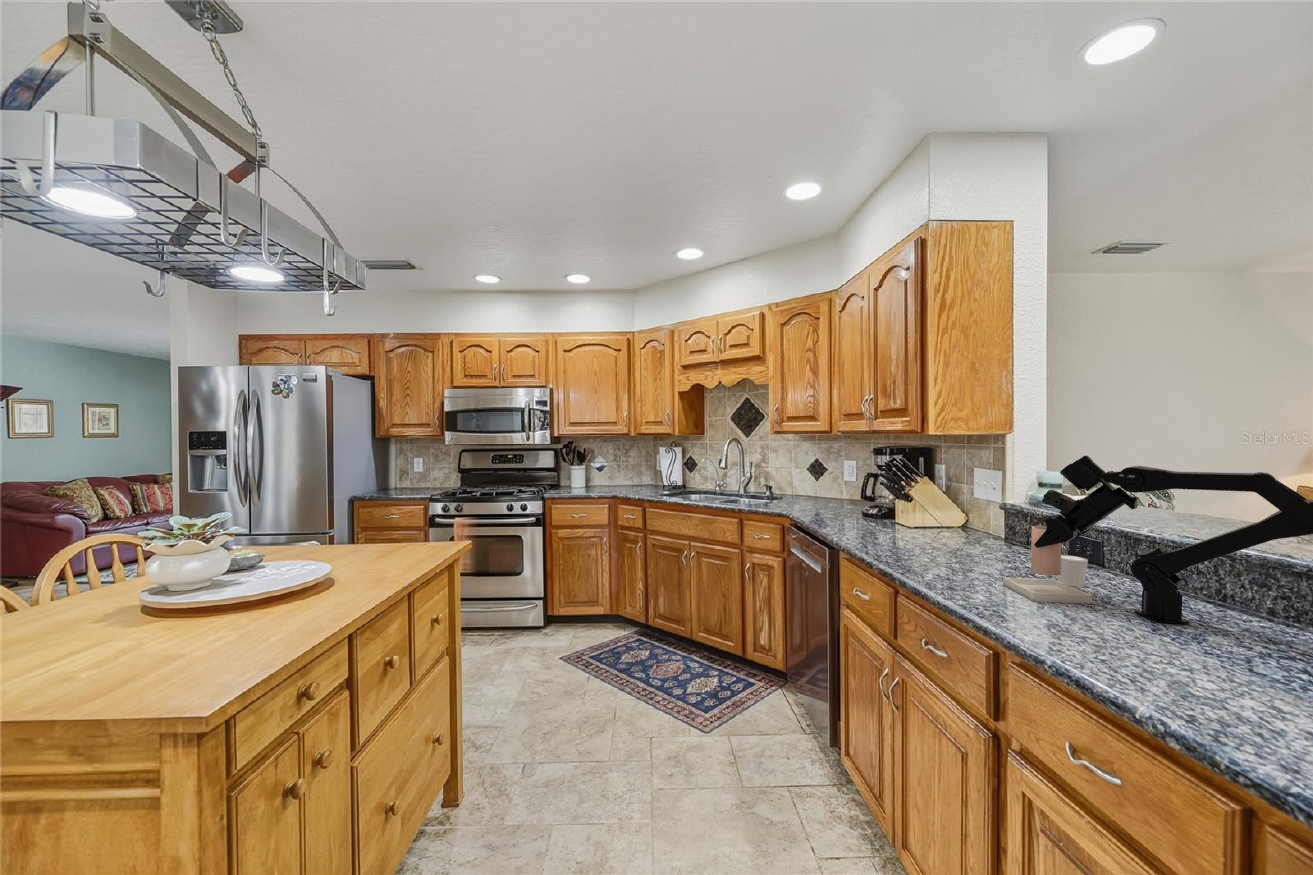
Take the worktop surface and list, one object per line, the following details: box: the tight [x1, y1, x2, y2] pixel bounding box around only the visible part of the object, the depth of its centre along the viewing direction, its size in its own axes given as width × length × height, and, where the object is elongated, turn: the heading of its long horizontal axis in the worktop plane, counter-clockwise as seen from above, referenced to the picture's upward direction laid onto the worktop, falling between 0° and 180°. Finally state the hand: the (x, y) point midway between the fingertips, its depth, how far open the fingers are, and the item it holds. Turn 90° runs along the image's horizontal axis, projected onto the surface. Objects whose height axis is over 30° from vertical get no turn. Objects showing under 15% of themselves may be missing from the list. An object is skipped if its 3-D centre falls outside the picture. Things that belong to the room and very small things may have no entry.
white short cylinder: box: [1056, 554, 1089, 588], centre depth 142 cm, size 7×7×7 cm
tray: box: [1002, 577, 1093, 605], centre depth 132 cm, size 13×13×2 cm
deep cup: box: [1030, 525, 1062, 576], centre depth 132 cm, size 6×6×11 cm
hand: (1039, 544), depth 133 cm, fingers closed on deep cup, 6 cm apart
